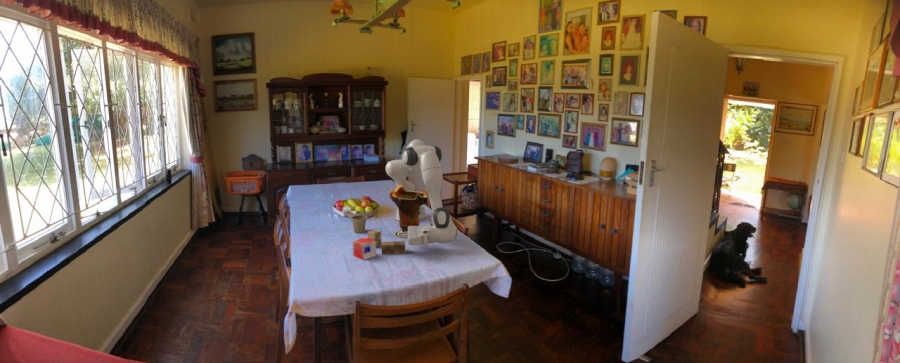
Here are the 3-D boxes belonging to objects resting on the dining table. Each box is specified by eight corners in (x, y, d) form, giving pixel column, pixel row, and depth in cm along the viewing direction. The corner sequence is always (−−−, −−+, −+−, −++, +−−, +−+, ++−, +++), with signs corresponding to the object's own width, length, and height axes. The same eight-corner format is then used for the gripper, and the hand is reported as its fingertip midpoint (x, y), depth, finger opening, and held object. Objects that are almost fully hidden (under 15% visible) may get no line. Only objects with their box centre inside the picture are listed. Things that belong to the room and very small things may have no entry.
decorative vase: (425, 240, 238) (422, 191, 232) (386, 239, 243) (382, 191, 237) (434, 229, 258) (432, 183, 252) (398, 228, 263) (394, 183, 257)
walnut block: (405, 241, 224) (382, 241, 223) (405, 244, 219) (381, 245, 218) (405, 250, 225) (382, 250, 224) (405, 253, 220) (381, 254, 219)
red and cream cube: (365, 251, 222) (365, 237, 221) (375, 255, 218) (375, 240, 216) (353, 256, 216) (352, 241, 215) (363, 260, 212) (362, 244, 210)
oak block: (374, 243, 234) (374, 229, 233) (381, 245, 232) (381, 231, 230) (368, 246, 230) (367, 231, 229) (374, 248, 227) (374, 233, 226)
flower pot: (369, 229, 258) (369, 215, 257) (365, 234, 249) (364, 219, 247) (354, 228, 259) (353, 214, 257) (349, 233, 250) (348, 219, 248)
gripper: (424, 222, 231) (399, 223, 230) (426, 235, 211) (398, 236, 210) (425, 233, 233) (399, 234, 231) (426, 247, 213) (398, 248, 211)
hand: (398, 235), depth 220 cm, fingers closed
